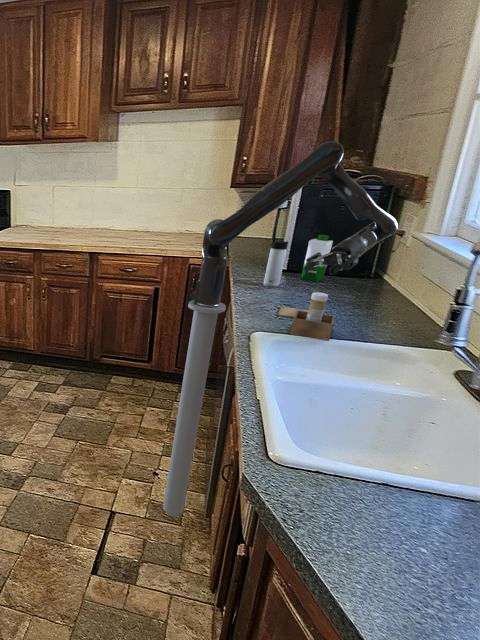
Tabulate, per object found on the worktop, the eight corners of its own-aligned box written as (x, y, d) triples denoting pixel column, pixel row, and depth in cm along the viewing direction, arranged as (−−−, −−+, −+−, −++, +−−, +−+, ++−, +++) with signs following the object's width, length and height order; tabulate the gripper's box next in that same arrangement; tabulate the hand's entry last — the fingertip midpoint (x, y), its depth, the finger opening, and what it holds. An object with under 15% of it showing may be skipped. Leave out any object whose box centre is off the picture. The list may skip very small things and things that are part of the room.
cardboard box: (289, 334, 175) (293, 318, 173) (293, 325, 183) (297, 310, 181) (328, 340, 169) (333, 324, 167) (330, 331, 178) (334, 315, 176)
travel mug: (272, 288, 230) (282, 242, 222) (259, 285, 235) (269, 239, 228) (282, 287, 232) (292, 241, 224) (269, 283, 238) (279, 238, 230)
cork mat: (277, 315, 194) (277, 314, 194) (281, 307, 203) (281, 306, 203) (314, 321, 188) (314, 319, 188) (316, 312, 197) (317, 311, 197)
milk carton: (325, 279, 246) (336, 236, 238) (318, 282, 240) (329, 238, 233) (305, 276, 252) (315, 233, 244) (298, 279, 246) (308, 235, 238)
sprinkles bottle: (303, 329, 179) (313, 291, 174) (319, 332, 177) (329, 293, 172) (301, 333, 176) (311, 294, 171) (317, 336, 173) (327, 296, 168)
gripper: (327, 238, 183) (296, 258, 179) (370, 240, 171) (338, 262, 167) (329, 258, 187) (298, 278, 182) (371, 262, 174) (339, 283, 170)
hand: (317, 270), depth 174 cm, fingers open, 8 cm apart
